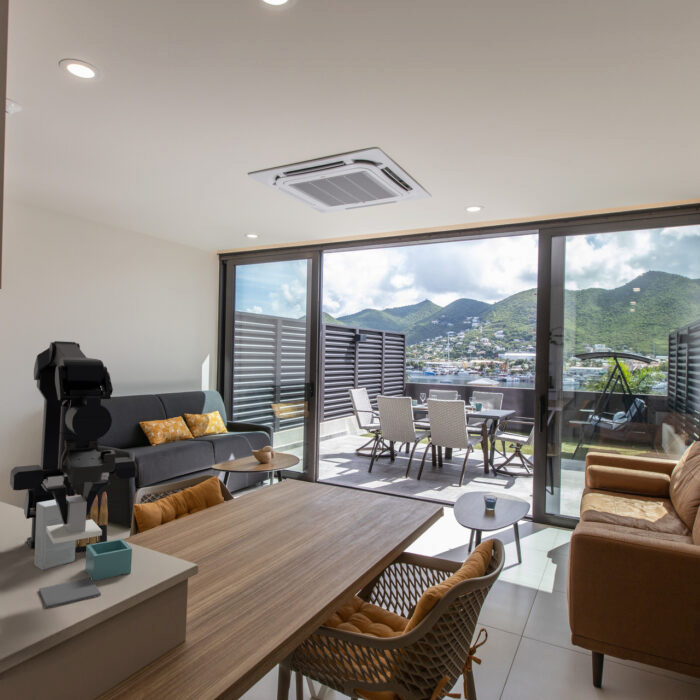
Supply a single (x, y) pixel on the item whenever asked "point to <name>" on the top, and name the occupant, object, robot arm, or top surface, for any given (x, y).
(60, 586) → the mat
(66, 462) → the robot arm
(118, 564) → the teal open box
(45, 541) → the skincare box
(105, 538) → the ammunition clip
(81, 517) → the lid
